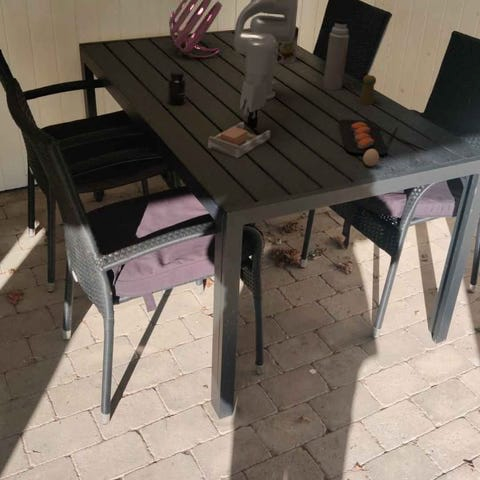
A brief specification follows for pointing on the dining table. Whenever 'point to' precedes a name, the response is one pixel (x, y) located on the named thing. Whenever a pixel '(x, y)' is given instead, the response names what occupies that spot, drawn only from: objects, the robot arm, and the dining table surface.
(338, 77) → the thermos bottle
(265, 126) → the dining table surface
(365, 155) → the egg
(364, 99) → the pepper mill
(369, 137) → the sushi plate
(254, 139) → the dock
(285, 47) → the coffee box
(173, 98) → the supplement bottle
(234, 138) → the brown rectangular block
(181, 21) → the spiral basket
